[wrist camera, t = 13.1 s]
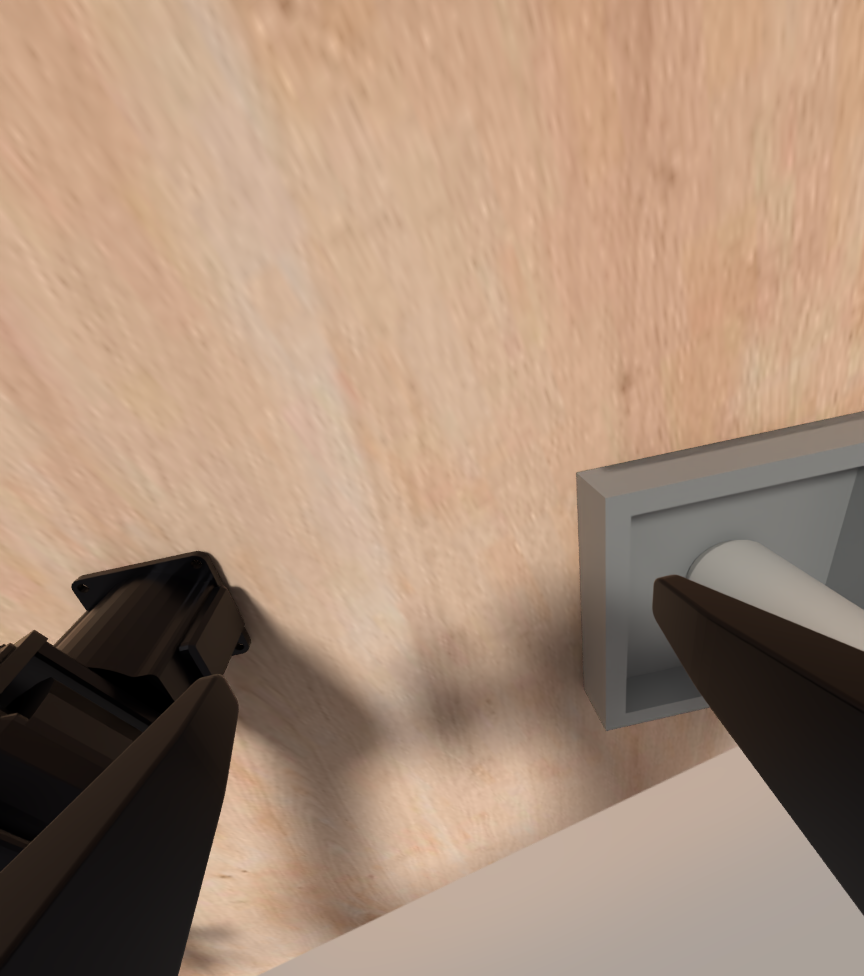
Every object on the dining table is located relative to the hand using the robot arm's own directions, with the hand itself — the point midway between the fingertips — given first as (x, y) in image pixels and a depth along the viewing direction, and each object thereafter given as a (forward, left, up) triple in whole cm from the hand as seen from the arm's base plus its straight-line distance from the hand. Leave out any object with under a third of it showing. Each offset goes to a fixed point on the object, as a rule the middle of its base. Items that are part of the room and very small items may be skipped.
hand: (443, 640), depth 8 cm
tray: (+16, -11, -12) cm, 23 cm away
